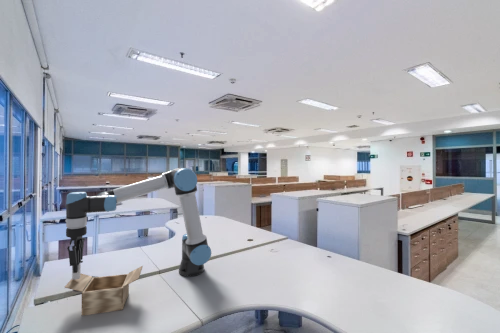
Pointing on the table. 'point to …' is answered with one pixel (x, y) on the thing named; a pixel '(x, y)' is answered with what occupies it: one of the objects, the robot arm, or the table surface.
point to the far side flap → (79, 283)
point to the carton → (105, 294)
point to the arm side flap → (133, 276)
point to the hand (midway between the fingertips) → (76, 278)
